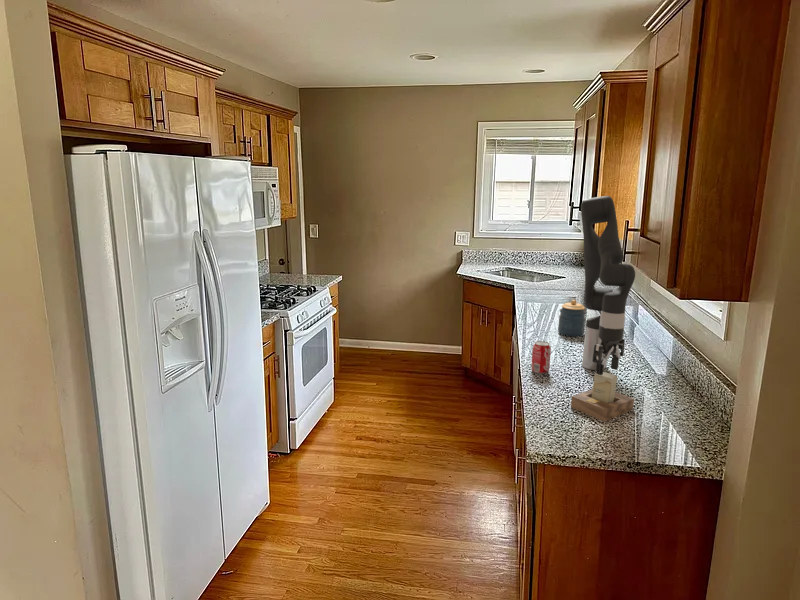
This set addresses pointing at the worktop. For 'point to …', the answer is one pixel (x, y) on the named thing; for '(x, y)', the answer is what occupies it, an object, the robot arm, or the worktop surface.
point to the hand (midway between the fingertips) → (606, 371)
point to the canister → (572, 319)
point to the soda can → (541, 357)
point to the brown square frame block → (602, 405)
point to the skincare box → (604, 387)
